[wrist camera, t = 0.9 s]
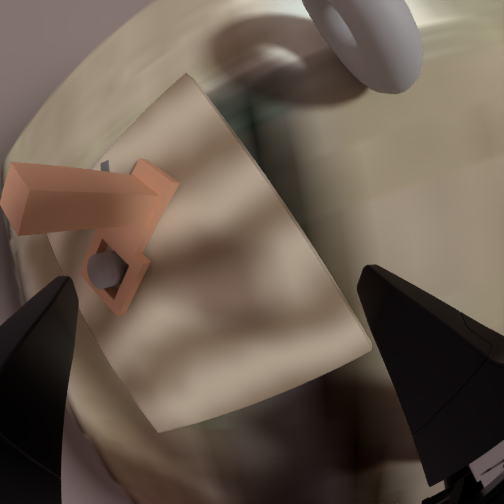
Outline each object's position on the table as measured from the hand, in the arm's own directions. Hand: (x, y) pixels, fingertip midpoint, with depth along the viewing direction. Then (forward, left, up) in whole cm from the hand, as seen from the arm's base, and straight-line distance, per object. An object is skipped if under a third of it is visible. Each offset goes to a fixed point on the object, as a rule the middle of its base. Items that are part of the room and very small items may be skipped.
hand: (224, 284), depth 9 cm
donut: (+8, -11, -12) cm, 19 cm away
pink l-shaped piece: (+8, +10, -11) cm, 17 cm away
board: (+4, +10, -12) cm, 16 cm away
